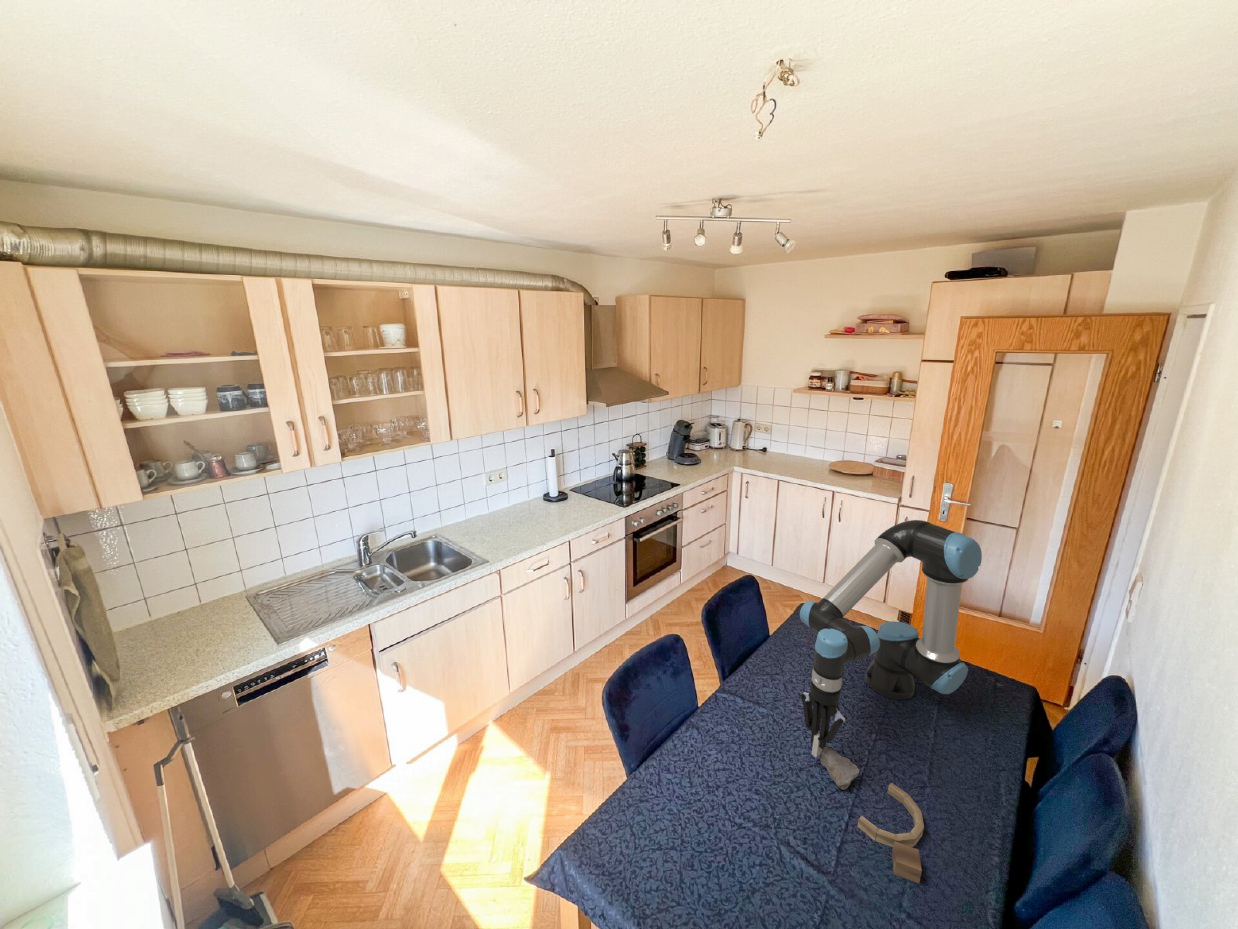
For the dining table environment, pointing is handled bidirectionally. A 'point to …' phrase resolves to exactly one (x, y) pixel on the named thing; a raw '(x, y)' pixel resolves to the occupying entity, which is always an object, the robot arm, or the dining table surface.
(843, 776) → the stone
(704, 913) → the dining table surface
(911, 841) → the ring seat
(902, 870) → the walnut block
